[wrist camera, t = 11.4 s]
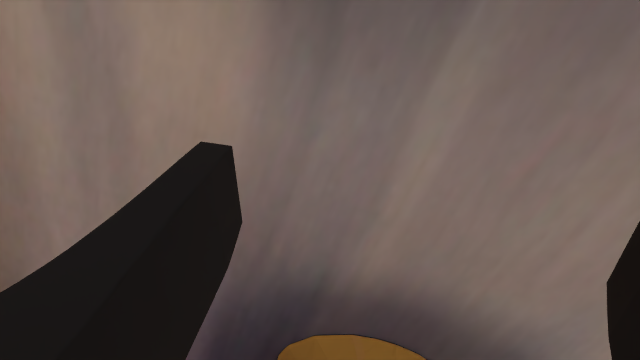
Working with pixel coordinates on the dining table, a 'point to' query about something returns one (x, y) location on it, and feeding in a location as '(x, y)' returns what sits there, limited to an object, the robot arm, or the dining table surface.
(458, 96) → the dining table surface
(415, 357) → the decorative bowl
